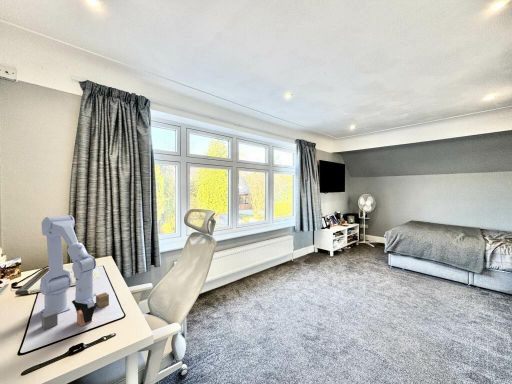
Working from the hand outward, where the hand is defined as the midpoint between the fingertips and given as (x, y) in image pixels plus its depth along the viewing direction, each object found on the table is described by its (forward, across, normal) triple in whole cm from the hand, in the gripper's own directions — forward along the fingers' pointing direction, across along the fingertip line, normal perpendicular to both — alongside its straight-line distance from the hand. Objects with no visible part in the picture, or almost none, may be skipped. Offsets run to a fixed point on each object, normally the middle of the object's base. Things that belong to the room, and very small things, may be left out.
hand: (84, 318), depth 92 cm
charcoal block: (+2, +9, +9) cm, 13 cm away
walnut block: (+2, +9, -10) cm, 14 cm away
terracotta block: (+2, 0, 0) cm, 2 cm away
